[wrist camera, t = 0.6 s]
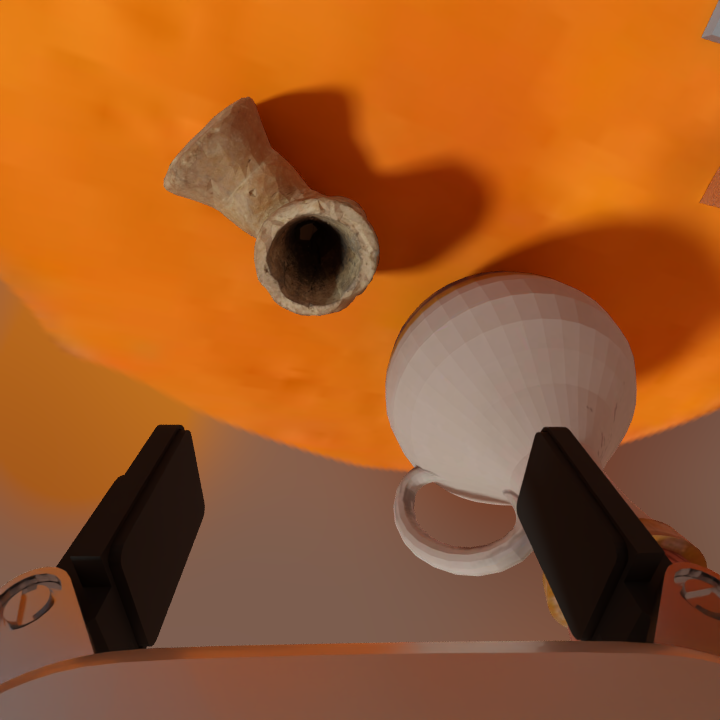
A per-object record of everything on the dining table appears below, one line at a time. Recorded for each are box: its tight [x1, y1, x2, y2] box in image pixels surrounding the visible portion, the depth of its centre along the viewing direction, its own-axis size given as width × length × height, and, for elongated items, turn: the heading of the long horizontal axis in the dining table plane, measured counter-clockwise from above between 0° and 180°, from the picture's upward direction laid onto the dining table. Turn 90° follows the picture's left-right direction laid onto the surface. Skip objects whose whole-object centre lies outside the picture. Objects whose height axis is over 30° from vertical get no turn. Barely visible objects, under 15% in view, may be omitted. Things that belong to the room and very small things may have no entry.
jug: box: [386, 271, 707, 641], centre depth 29 cm, size 20×18×30 cm
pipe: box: [164, 97, 380, 316], centre depth 31 cm, size 9×16×10 cm, turn 47°
